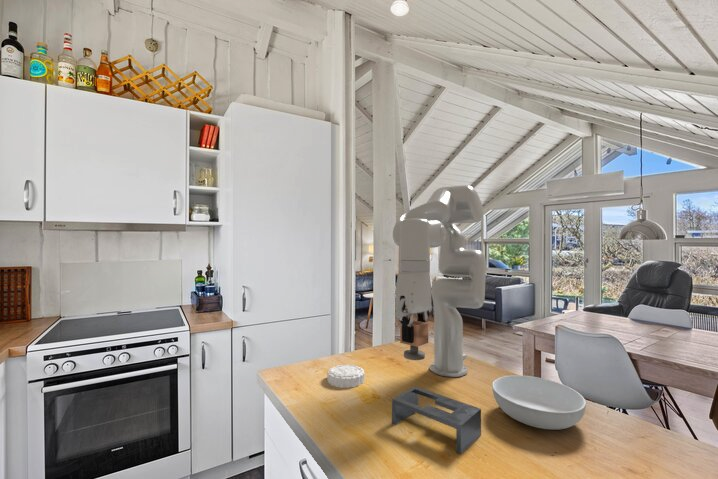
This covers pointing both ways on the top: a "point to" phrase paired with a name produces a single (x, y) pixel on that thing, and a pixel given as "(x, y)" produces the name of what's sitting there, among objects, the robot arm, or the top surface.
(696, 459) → the top surface
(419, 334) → the keyhole peg
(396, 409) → the keyhole bracket
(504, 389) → the serving bowl
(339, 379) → the mooncake
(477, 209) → the robot arm
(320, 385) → the top surface
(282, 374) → the top surface
